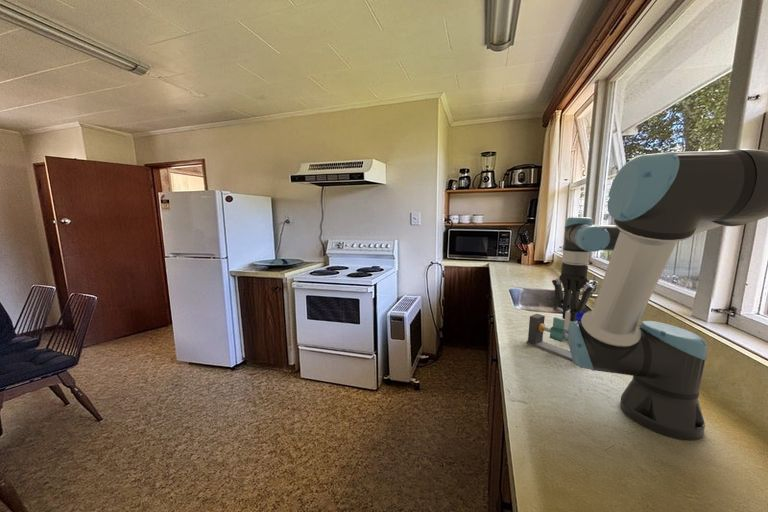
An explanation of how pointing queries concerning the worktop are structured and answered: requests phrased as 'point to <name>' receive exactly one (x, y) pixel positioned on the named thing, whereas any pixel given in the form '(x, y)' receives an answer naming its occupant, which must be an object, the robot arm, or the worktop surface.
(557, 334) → the sleeve
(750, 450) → the worktop surface
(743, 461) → the worktop surface
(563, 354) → the grey slider rail stand
